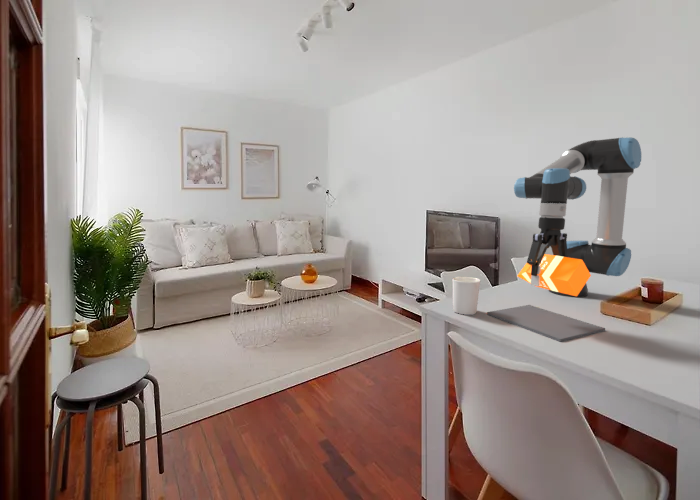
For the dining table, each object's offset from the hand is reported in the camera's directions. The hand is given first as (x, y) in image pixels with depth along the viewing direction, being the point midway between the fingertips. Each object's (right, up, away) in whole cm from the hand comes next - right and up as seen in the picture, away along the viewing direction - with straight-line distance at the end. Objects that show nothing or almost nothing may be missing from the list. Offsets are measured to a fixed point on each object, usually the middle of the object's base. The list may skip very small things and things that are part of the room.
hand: (545, 284), depth 126 cm
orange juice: (+5, +3, -11) cm, 12 cm away
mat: (0, -13, +2) cm, 13 cm away
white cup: (-23, -11, +13) cm, 29 cm away
